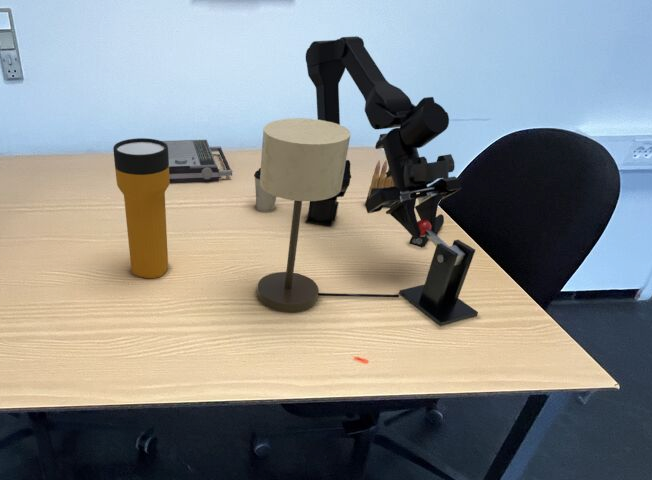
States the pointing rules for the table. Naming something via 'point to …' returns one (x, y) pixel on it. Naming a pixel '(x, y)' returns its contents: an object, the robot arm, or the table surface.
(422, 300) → the switch bracket
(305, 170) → the desk lamp
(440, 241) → the lever
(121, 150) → the flashlight
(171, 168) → the radio
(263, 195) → the coffee cup
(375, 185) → the ammunition clip
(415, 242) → the electric trimmer
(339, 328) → the table surface
